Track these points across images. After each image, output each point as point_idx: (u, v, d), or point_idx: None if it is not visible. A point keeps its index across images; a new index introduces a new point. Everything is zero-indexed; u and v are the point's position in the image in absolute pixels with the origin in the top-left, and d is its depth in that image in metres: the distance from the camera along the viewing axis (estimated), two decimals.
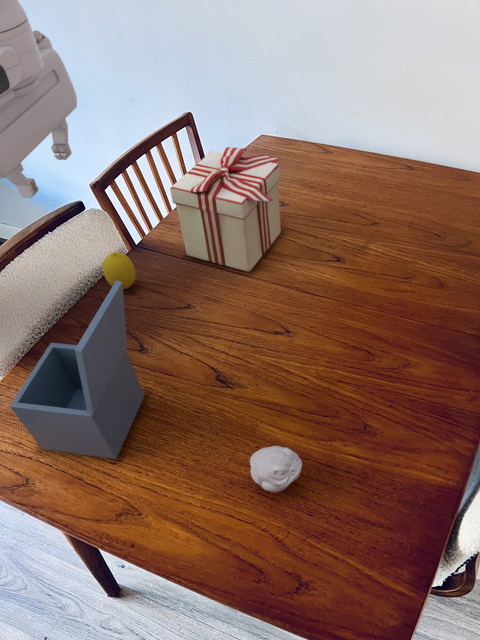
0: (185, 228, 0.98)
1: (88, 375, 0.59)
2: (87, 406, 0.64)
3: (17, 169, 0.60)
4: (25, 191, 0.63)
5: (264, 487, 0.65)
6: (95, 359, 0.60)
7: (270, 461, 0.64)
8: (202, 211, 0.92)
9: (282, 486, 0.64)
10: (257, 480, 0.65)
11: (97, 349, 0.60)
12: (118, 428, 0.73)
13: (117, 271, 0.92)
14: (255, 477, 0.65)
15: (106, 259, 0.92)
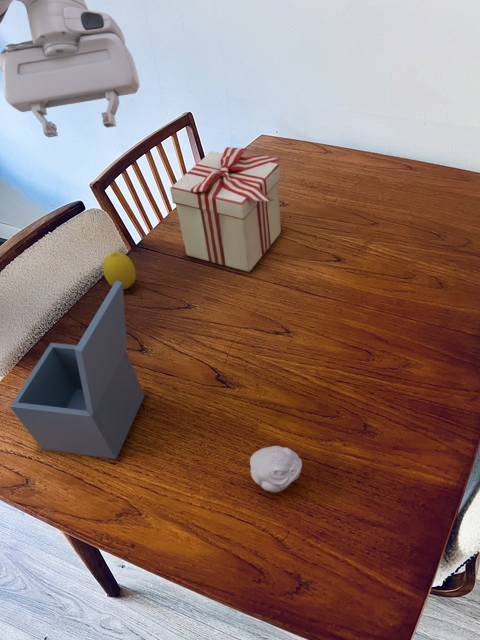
0: (185, 228, 0.98)
1: (88, 375, 0.59)
2: (87, 406, 0.64)
3: None
4: (113, 119, 0.80)
5: (264, 487, 0.65)
6: (95, 359, 0.60)
7: (270, 461, 0.64)
8: (202, 211, 0.92)
9: (282, 486, 0.64)
10: (257, 480, 0.65)
11: (97, 349, 0.60)
12: (118, 428, 0.73)
13: (117, 271, 0.92)
14: (255, 477, 0.65)
15: (106, 259, 0.92)
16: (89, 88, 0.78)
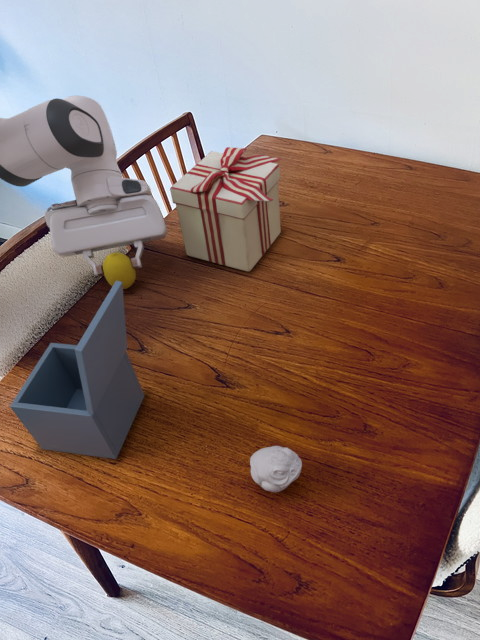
0: (185, 228, 0.98)
1: (88, 375, 0.59)
2: (87, 406, 0.64)
3: None
4: (140, 262, 0.95)
5: (264, 487, 0.65)
6: (95, 359, 0.60)
7: (270, 461, 0.64)
8: (202, 211, 0.92)
9: (282, 486, 0.64)
10: (257, 480, 0.65)
11: (97, 349, 0.60)
12: (118, 428, 0.73)
13: (117, 271, 0.92)
14: (255, 477, 0.65)
15: (106, 259, 0.92)
16: (128, 238, 0.92)
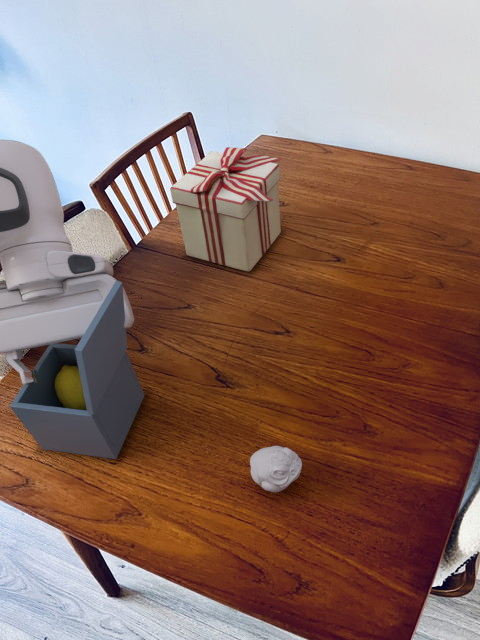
0: (185, 228, 0.98)
1: (88, 375, 0.59)
2: (87, 406, 0.64)
3: None
4: None
5: (264, 487, 0.65)
6: (95, 359, 0.60)
7: (270, 461, 0.64)
8: (202, 211, 0.92)
9: (282, 486, 0.64)
10: (257, 480, 0.65)
11: (97, 349, 0.60)
12: (118, 428, 0.73)
13: (67, 383, 0.73)
14: (255, 477, 0.65)
15: (57, 374, 0.74)
16: (78, 333, 0.67)
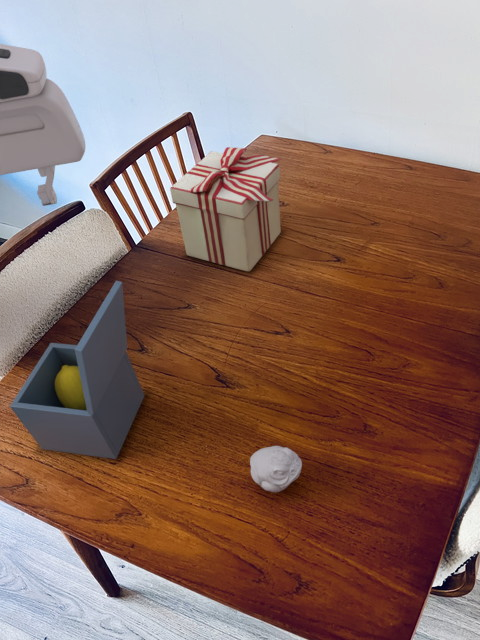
0: (185, 228, 0.98)
1: (88, 375, 0.59)
2: (87, 406, 0.64)
3: None
4: (54, 194, 0.59)
5: (264, 487, 0.65)
6: (95, 359, 0.60)
7: (270, 461, 0.64)
8: (202, 211, 0.92)
9: (282, 486, 0.64)
10: (257, 480, 0.65)
11: (97, 349, 0.60)
12: (118, 428, 0.73)
13: (67, 383, 0.73)
14: (255, 477, 0.65)
15: (57, 374, 0.74)
16: (19, 168, 0.54)
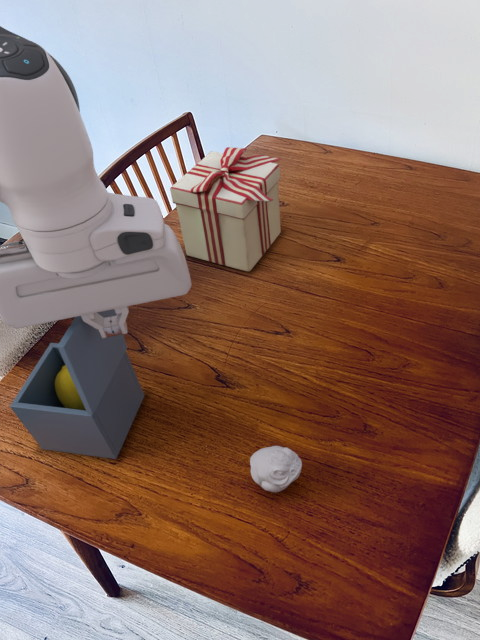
0: (185, 228, 0.98)
1: (78, 373, 0.59)
2: (85, 406, 0.64)
3: None
4: (125, 324, 0.61)
5: (264, 487, 0.65)
6: (84, 356, 0.60)
7: (270, 461, 0.64)
8: (202, 211, 0.92)
9: (282, 486, 0.64)
10: (257, 480, 0.65)
11: (85, 347, 0.60)
12: (118, 428, 0.73)
13: (67, 383, 0.73)
14: (255, 477, 0.65)
15: (57, 374, 0.74)
16: (130, 303, 0.56)
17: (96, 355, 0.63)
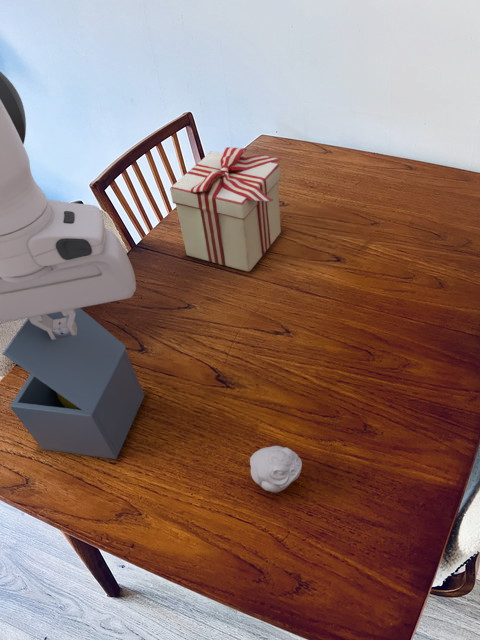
0: (185, 228, 0.98)
1: (43, 374, 0.61)
2: (79, 407, 0.64)
3: None
4: (74, 325, 0.63)
5: (264, 487, 0.65)
6: (48, 358, 0.62)
7: (270, 461, 0.64)
8: (202, 211, 0.92)
9: (282, 486, 0.64)
10: (257, 480, 0.65)
11: (44, 349, 0.62)
12: (118, 428, 0.73)
13: None
14: (255, 477, 0.65)
15: None
16: (76, 306, 0.58)
17: (69, 356, 0.64)
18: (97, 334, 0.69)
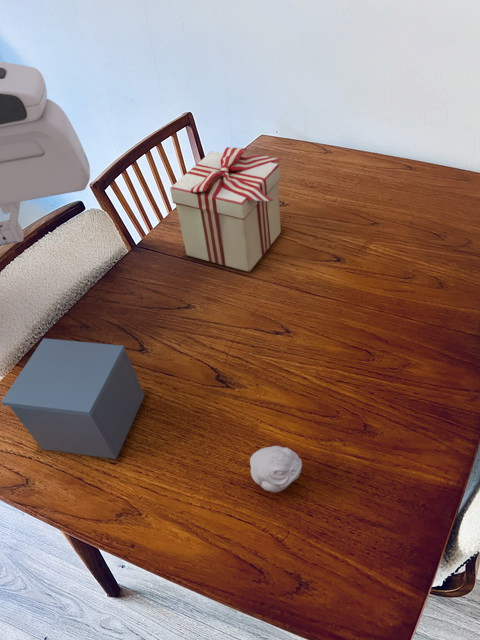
0: (185, 228, 0.98)
1: (36, 402, 0.66)
2: (79, 413, 0.65)
3: None
4: (20, 230, 0.53)
5: (264, 487, 0.65)
6: (40, 390, 0.68)
7: (270, 461, 0.64)
8: (202, 211, 0.92)
9: (282, 486, 0.64)
10: (257, 480, 0.65)
11: (37, 385, 0.68)
12: (118, 428, 0.73)
13: None
14: (255, 477, 0.65)
15: None
16: (17, 199, 0.48)
17: (62, 379, 0.69)
18: (90, 350, 0.72)
